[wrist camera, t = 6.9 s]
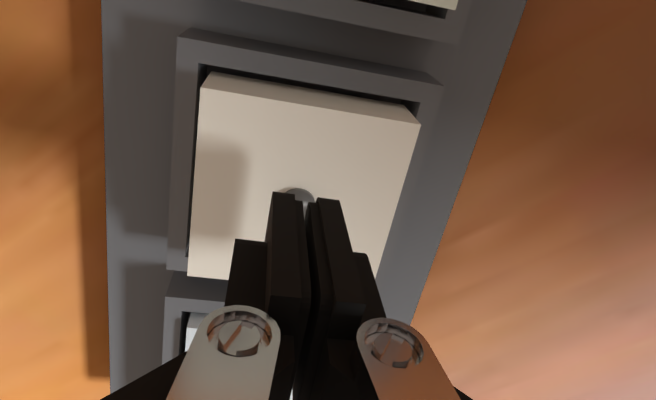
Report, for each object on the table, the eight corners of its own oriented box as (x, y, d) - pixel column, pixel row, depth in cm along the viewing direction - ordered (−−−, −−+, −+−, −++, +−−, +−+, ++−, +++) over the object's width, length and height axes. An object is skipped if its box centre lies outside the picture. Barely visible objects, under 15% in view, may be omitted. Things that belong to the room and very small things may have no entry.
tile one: (404, 105, 14) (423, 126, 12) (361, 260, 17) (371, 298, 15) (211, 70, 13) (199, 88, 11) (197, 241, 16) (185, 279, 14)
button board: (594, -259, 13) (692, -330, 10) (371, 394, 25) (384, 455, 22) (113, -425, 11) (45, -582, 8) (120, 378, 23) (95, 444, 19)
